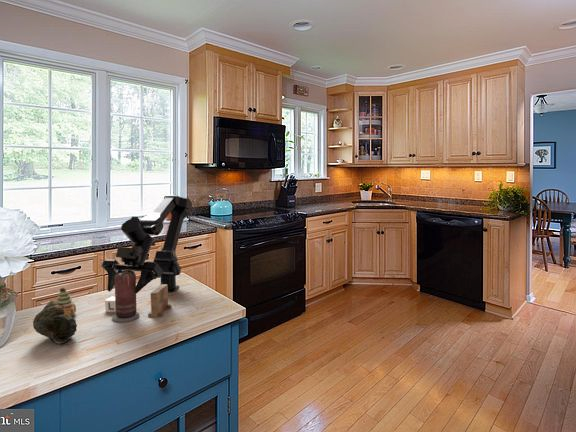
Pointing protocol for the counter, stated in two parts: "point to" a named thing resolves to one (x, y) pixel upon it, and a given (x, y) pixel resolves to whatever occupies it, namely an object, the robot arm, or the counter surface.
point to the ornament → (65, 302)
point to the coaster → (125, 318)
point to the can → (125, 294)
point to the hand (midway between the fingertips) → (121, 292)
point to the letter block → (110, 304)
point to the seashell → (55, 323)
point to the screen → (159, 301)
